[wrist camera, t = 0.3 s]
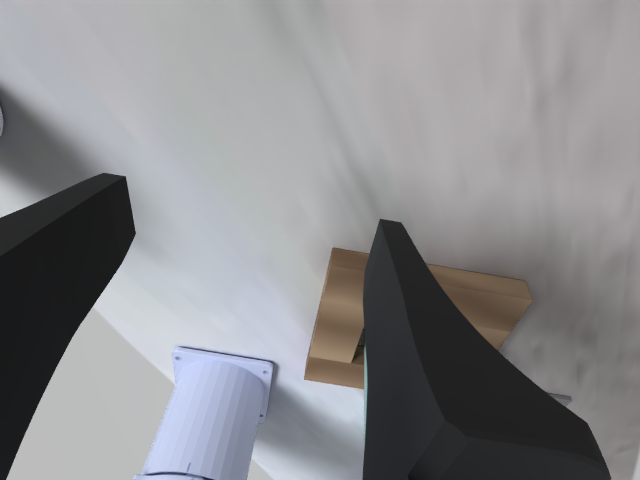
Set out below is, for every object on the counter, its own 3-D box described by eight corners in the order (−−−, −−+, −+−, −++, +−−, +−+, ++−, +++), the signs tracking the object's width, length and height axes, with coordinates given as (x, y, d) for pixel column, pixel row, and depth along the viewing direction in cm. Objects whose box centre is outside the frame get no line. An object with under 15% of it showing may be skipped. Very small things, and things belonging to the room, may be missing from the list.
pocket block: (454, 385, 33) (458, 404, 32) (306, 361, 33) (304, 379, 31) (524, 281, 25) (533, 300, 24) (332, 247, 25) (330, 265, 24)
